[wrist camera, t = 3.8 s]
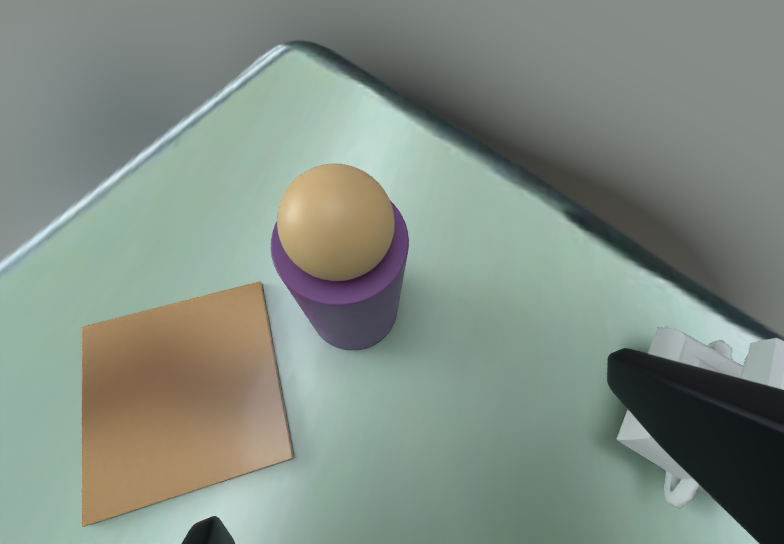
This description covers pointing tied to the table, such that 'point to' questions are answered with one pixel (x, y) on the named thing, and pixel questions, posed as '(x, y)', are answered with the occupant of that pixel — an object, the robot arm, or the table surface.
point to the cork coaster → (179, 401)
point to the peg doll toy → (341, 253)
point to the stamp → (762, 365)
